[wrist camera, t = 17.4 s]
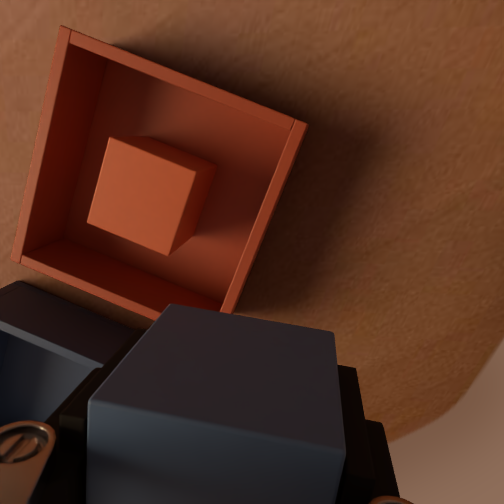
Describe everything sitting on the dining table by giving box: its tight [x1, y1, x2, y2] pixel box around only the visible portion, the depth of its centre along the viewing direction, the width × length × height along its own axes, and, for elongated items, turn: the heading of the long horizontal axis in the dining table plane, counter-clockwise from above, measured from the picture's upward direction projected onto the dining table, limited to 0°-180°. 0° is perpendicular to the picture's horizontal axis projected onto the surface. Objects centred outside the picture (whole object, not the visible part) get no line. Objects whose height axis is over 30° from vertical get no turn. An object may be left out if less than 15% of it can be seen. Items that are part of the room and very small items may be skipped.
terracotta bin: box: [10, 25, 309, 321], centre depth 23 cm, size 12×12×4 cm
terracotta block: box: [87, 136, 217, 256], centre depth 23 cm, size 4×4×4 cm
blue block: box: [86, 304, 346, 504], centre depth 10 cm, size 4×4×4 cm
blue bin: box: [0, 281, 135, 427], centre depth 28 cm, size 12×12×4 cm
